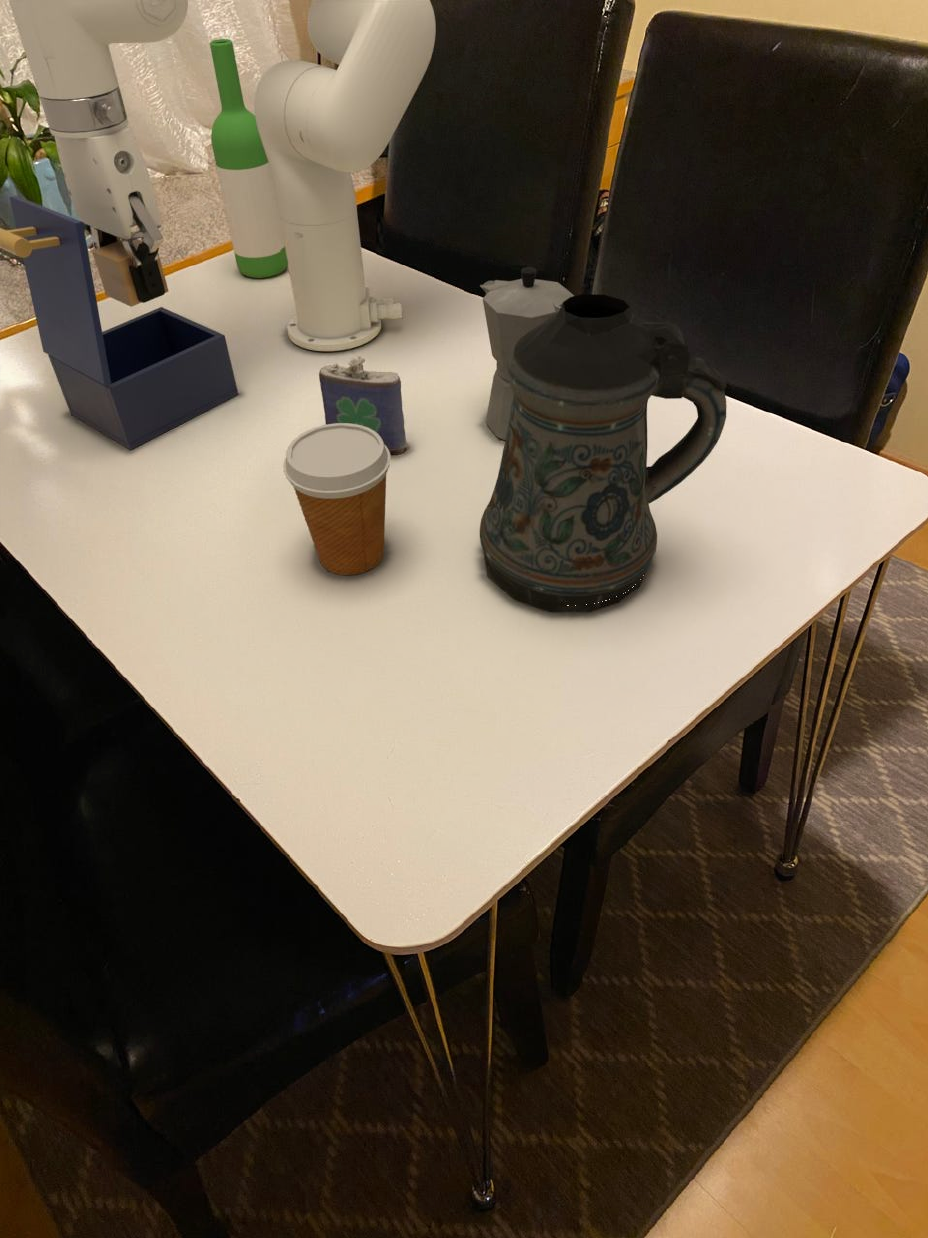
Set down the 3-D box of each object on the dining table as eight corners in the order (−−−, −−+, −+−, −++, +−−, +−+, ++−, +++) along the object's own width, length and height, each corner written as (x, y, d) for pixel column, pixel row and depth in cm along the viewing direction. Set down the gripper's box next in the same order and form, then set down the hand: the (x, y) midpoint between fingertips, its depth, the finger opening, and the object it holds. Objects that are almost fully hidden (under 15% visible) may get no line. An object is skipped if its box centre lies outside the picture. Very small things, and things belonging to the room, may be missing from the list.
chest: (177, 364, 116) (161, 306, 111) (238, 394, 110) (224, 334, 105) (70, 414, 108) (47, 354, 103) (130, 450, 102) (109, 388, 96)
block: (143, 280, 103) (130, 236, 100) (169, 291, 101) (157, 246, 98) (105, 295, 101) (91, 250, 97) (131, 306, 98) (117, 261, 95)
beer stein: (455, 529, 89) (443, 282, 72) (629, 484, 94) (657, 242, 77) (521, 637, 78) (525, 376, 61) (715, 580, 83) (770, 321, 65)
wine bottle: (296, 260, 139) (260, 34, 119) (278, 281, 134) (236, 48, 113) (250, 257, 141) (206, 33, 120) (230, 278, 135) (179, 47, 115)
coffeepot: (456, 419, 104) (449, 265, 92) (511, 388, 109) (511, 237, 96) (558, 470, 96) (566, 308, 84) (612, 434, 101) (627, 276, 88)
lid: (16, 195, 93) (-38, 202, 89) (83, 221, 87) (27, 230, 83) (49, 350, 103) (1, 361, 99) (111, 383, 96) (62, 397, 93)
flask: (409, 444, 101) (401, 356, 93) (401, 458, 99) (392, 369, 91) (333, 434, 103) (319, 347, 95) (323, 448, 101) (308, 361, 93)
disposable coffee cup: (304, 528, 90) (283, 424, 82) (399, 520, 91) (388, 416, 82) (300, 591, 83) (277, 484, 75) (402, 582, 84) (390, 475, 75)
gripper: (168, 115, 86) (211, 299, 99) (72, 89, 94) (122, 262, 107) (100, 135, 82) (153, 324, 95) (6, 106, 90) (66, 283, 103)
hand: (136, 289), depth 101 cm, fingers closed on block, 5 cm apart
